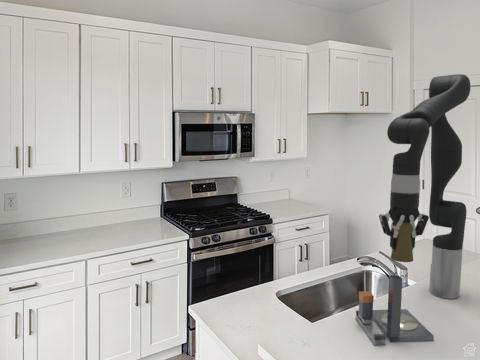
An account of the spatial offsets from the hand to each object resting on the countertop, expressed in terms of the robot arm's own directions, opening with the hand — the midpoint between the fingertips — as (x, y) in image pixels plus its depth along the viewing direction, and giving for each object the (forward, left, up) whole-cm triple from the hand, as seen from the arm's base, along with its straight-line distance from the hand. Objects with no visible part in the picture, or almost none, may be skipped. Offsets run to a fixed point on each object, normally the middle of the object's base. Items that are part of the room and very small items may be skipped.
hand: (402, 249), depth 110 cm
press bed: (0, 0, -24) cm, 24 cm away
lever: (-2, -9, -22) cm, 24 cm away
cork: (0, 0, -3) cm, 3 cm away
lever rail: (+2, -9, -24) cm, 25 cm away
